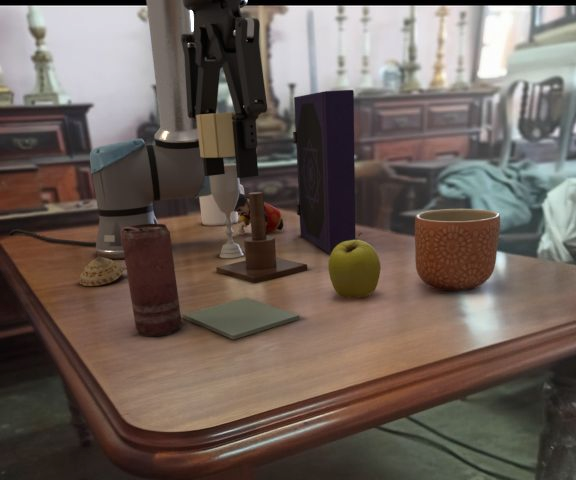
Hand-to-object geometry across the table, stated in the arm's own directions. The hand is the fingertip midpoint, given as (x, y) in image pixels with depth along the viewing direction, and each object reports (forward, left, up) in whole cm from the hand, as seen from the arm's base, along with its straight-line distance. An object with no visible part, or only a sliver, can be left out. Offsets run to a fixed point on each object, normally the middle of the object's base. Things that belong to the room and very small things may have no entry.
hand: (230, 175), depth 76 cm
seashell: (-38, -5, -20) cm, 43 cm away
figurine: (-51, +39, -20) cm, 67 cm away
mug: (-74, +45, -20) cm, 89 cm away
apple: (+4, +18, -20) cm, 27 cm away
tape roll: (0, 0, +2) cm, 2 cm away
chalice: (-36, +22, -20) cm, 47 cm away
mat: (0, 0, -19) cm, 19 cm away
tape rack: (-20, +18, -19) cm, 33 cm away
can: (-5, -11, -20) cm, 23 cm away
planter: (+12, +32, -20) cm, 39 cm away
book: (-29, +42, -20) cm, 55 cm away
